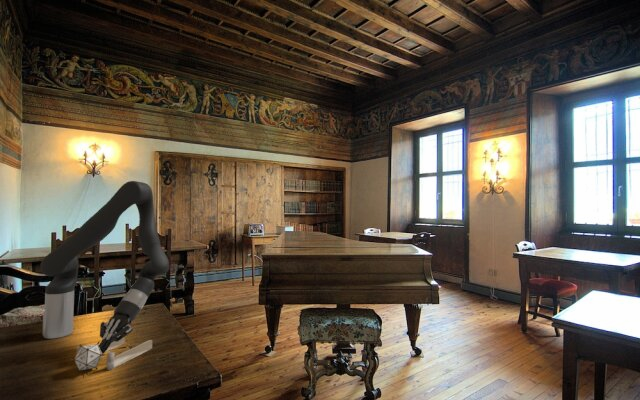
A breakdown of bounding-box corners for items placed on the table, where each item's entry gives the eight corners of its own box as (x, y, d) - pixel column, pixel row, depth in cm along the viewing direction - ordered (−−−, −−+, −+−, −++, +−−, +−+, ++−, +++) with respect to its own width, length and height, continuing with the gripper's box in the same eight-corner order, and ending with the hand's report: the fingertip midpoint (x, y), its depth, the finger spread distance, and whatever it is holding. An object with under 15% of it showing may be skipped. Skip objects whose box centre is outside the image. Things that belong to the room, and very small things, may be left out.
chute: (74, 363, 108) (75, 348, 108) (121, 342, 125) (121, 329, 125) (109, 370, 104) (110, 354, 104) (153, 348, 120) (153, 334, 121)
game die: (90, 383, 103) (88, 366, 98) (65, 372, 103) (62, 355, 98) (111, 358, 111) (111, 341, 105) (89, 348, 111) (87, 331, 106)
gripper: (111, 297, 120) (76, 344, 108) (140, 301, 116) (107, 350, 104) (123, 308, 125) (91, 354, 113) (151, 311, 121) (121, 359, 109)
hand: (99, 352), depth 108 cm, fingers closed
